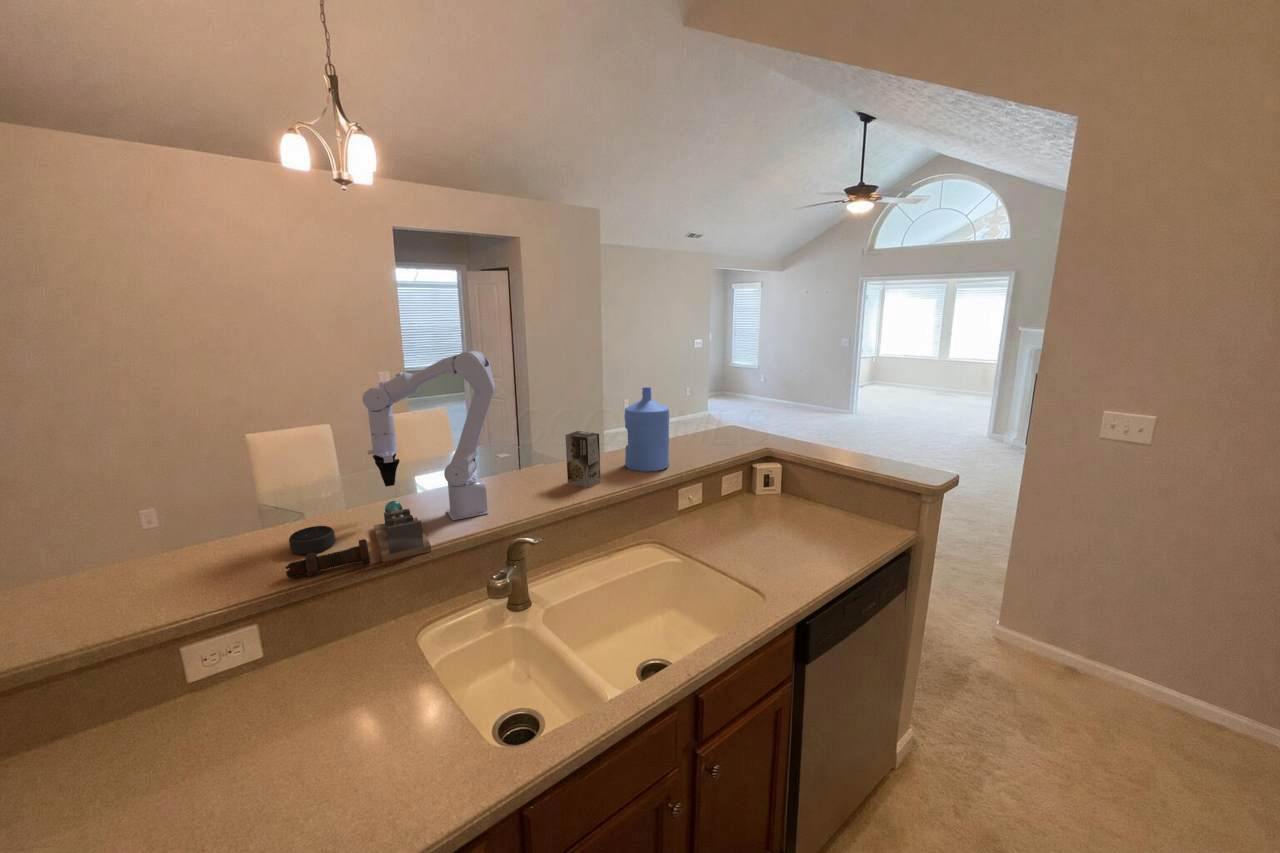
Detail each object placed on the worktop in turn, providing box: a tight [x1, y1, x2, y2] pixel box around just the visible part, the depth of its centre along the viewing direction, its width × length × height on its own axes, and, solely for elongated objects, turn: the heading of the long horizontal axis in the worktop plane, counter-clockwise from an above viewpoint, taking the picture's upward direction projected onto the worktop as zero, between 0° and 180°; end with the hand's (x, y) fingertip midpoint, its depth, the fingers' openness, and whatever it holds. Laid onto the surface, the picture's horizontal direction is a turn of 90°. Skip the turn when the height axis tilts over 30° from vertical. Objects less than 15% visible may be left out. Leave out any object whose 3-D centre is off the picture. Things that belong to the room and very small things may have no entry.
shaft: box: [384, 500, 404, 525], centre depth 128 cm, size 15×4×4 cm, turn 31°
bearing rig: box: [373, 508, 432, 563], centre depth 124 cm, size 20×10×8 cm, turn 31°
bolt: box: [284, 538, 371, 579], centre depth 110 cm, size 6×5×15 cm
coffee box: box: [564, 430, 601, 488], centre depth 165 cm, size 9×6×16 cm
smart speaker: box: [288, 525, 336, 556], centre depth 121 cm, size 9×9×4 cm
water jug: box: [624, 386, 670, 473], centre depth 182 cm, size 16×16×28 cm
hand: (388, 482), depth 138 cm, fingers open, 5 cm apart
